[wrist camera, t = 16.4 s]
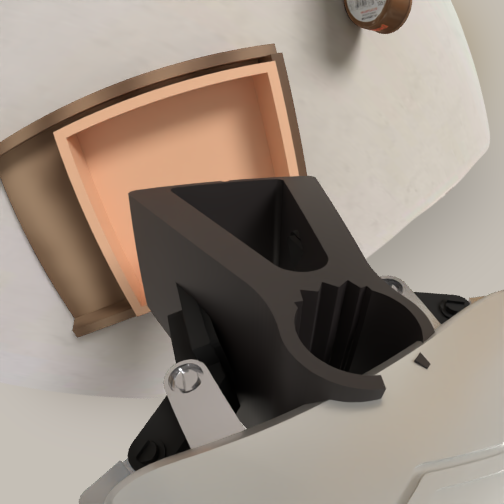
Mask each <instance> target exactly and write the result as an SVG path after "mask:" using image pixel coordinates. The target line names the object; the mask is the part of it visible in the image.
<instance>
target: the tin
mask: <svg viewBox="0 0 504 504" xmlns="http://www.w3.org/2000/svg"><path fill="white" fill-rule="evenodd" d="M344 4H345V8H346V11H347V14H348V16H349V18H350V19H351V20H352V22H354V23H355V24H356V25H357V26H359V27H361V28H364V29H368V30H372V31H376V32H378V33H381V34H389V33H392V32H395V31H396V30H398V29H399V28H400V27H401V26H402V25H403V24H404V23H405V21H406V20H407V18H408V16H409V13H410V10H411V6H412V0H344Z"/></svg>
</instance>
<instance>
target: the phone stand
mask: <svg viewBox="0 0 504 504" xmlns="http://www.w3.org/2000/svg"><path fill="white" fill-rule="evenodd" d="M128 196H129V204H130V212H131V219H132V226H133V232H134V239H135V245H136V251H137V257H138V262H139V268H140V273H141V278H142V283H143V288H144V293H145V298H146V303H147V306H148V308H149V309H150V310H151V312H152V313H153V315H154V316H155V317H156V319H157V320H158V321H159V323H160V324H161V326H162V327H163V328H164V330H165V331H166V332H167V334H168V335H169V336H170V338H171V334H170V329H169V323H168V317H167V316H168V315H170V314H172V313H175V312H178V311H180V310H182V307H181V303H180V299H179V294H178V290H177V285H176V283H177V284H178V285H179V286H181V287H182V288H183V289H184V290H185V291H186V292H187V293H188V294H189V295H191V296H192V297H193V298H194V299H195V300H196V301H197V303H198V305H199V307H201V308H202V309H203V310H204V311H205V312H206V313H207V314H208V315H209V316H210V319H211V321H212V324H213V326H214V328H215V331H216V333H217V336H218V338H219V340H220V343H221V345H222V348H223V350H224V352H225V355H226V357H227V359H228V362H229V364H230V366H231V369H232V371H233V373H234V389H235V392H236V394H237V398H238V400H239V403H240V405H241V406H240V408H239V410H238V412H237V413H236V416H237V417H238V419H239V421H240V422H241V423H242V424H243V425H244V426H245V427H246V428H247V429H248V428H251V427H254V426H256V425H259V424H261V423H264V422H266V421H268V420H271V419H273V418H275V417H278V416H280V415H282V414H285V413H287V412H289V411H291V410H294V409H296V408H298V407H300V406H302V405H304V404H310V403H316V402H321V401H326V400H334V401H341V402H367V401H373V400H378V399H381V398H382V396H383V394H384V392H385V390H386V387H385V384H384V381H383V379H382V376H381V375H363V374H364V373H366V372H368V371H370V370H371V369H373V368H375V367H376V366H378V365H380V364H382V363H383V362H385V361H387V360H388V359H390V358H391V357H393V356H395V355H396V354H398V353H400V352H401V351H403V350H404V349H406V348H407V347H409V346H411V345H412V344H414V343H415V342H417V341H421V342H422V343H424V342H425V341H426V340H427V339H428V338H429V337H431V336H432V335H433V334H434V333H435V331H434V328H433V326H432V324H431V322H430V320H429V319H428V317H427V316H426V315H425V313H424V312H423V311H422V310H421V309H420V308H419V307H418V306H417V305H416V304H414V303H413V302H412V301H410V300H409V299H407V298H406V297H404V296H403V295H401V294H400V293H399V292H397V291H396V290H394V289H393V288H392V287H391V286H389V285H388V284H387V283H386V282H384V281H383V280H382V279H381V278H380V277H379V276H378V275H377V274H376V273H375V272H374V271H373V269H372V268H371V267H370V265H369V264H368V263H367V261H366V259H365V257H364V256H363V254H362V252H361V250H360V249H359V247H358V245H357V244H356V242H355V240H354V238H353V237H352V235H351V233H350V232H349V230H348V228H347V227H346V225H345V223H344V222H343V220H342V219H341V217H340V215H339V214H338V212H337V210H336V209H335V207H334V206H333V204H332V202H331V201H330V199H329V198H328V196H327V195H326V193H325V191H324V190H323V188H322V187H321V185H320V184H319V182H318V181H317V179H316V178H315V177H312V176H289V177H269V178H253V179H239V180H229V181H226V182H224V181H214V182H203V183H193V184H183V185H174V186H165V187H156V188H148V189H141V190H134V191H131V192H129V193H128ZM295 230H298V232H299V235H300V237H301V241H300V242H301V244H302V247H303V250H304V253H303V255H302V257H301V258H300V260H299V262H298V264H297V265H296V267H295V269H294V271H293V267H292V262H291V256H290V251H289V246H288V240H287V238H288V237H290V236H291V232H293V231H295ZM414 362H415V363H417V364H419V365H421V366H422V367H424V368H426V369H428V367H429V366H430V363H429V361H428V360H427V359H426V358H425V357H424V356H423V355H422V354H421V352H420V353H419V355H418V356H417V358H416V359H415V360H414Z"/></svg>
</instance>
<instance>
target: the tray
mask: <svg viewBox="0 0 504 504" xmlns="http://www.w3.org/2000/svg"><path fill="white" fill-rule="evenodd" d="M271 61H275V62H276V67H277V71H278V75H279V79H280V84H281V88H282V93H283V97H284V102H285V107H286V111H287V116H288V121H289V126H290V131H291V136H292V141H293V146H294V151H295V156H296V162H297V167H298V173H299V176H307V172H306V166H305V161H304V155H303V149H302V144H301V139H300V133H299V128H298V123H297V118H296V113H295V108H294V103H293V99H292V94H291V89H290V85H289V80H288V76H287V71H286V67H285V63H284V58H283V54H282V53H277V52H276V48H275V44H267V45H261V46H254V47H248V48H242V49H237V50H232V51H227V52H222V53H217V54H213V55H208V56H204V57H200V58H196V59H192V60H188V61H184V62H181V63H177V64H174V65H170V66H167V67H163V68H160V69H157V70H154V71H151V72H148V73H145V74H142V75H139V76H136V77H133V78H130V79H127V80H125V81H122V82H119V83H117V84H114V85H112V86H109V87H107V88H104V89H102V90H99V91H97V92H94V93H92V94H90V95H88V96H85V97H83V98H81V99H79V100H76V101H74V102H72V103H70V104H68V105H66V106H64V107H62V108H60V109H58V110H56V111H54V112H52V113H50V114H48V115H46V116H44V117H42V118H40V119H39V120H37V121H35V122H33V123H31V124H30V125H28V126H26V127H24V128H23V129H21V130H19V131H18V132H16V133H14V134H13V135H11V136H9V137H8V138H6V139H5V140H3V141H1V142H0V178H1V180H2V183H3V185H4V188H5V190H6V193H7V195H8V197H9V200H10V202H11V204H12V207H13V209H14V211H15V213H16V216H17V218H18V220H19V222H20V224H21V226H22V228H23V230H24V232H25V234H26V236H27V238H28V240H29V242H30V244H31V246H32V248H33V250H34V252H35V254H36V256H37V257H38V259H39V261H40V263H41V265H42V266H43V268H44V270H45V272H46V273H47V275H48V277H49V279H50V280H51V282H52V284H53V285H54V287H55V289H56V290H57V292H58V293H59V295H60V297H61V298H62V300H63V301H64V303H65V304H66V306H67V308H68V309H69V311H70V312H71V314H72V315H73V317H74V318H75V320H74V325H73V330H72V331H73V332H74V333H75V335H76V336H77V338H78V337H80V336H83V335H86V334H89V333H91V332H94V331H97V330H100V329H102V328H105V327H108V326H111V325H113V324H116V323H119V322H121V321H124V320H127V319H129V318H132V317H135V316H136V314H135V312H134V310H133V309H132V307H131V305H130V304H129V302H128V300H127V298H126V296H125V295H124V293H123V291H122V289H121V287H120V286H119V284H118V282H117V280H116V278H115V276H114V274H113V272H112V270H111V269H110V267H109V265H108V263H107V261H106V259H105V257H104V255H103V253H102V251H101V249H100V247H99V245H98V243H97V240H96V238H95V236H94V234H93V232H92V230H91V228H90V225H89V223H88V221H87V219H86V217H85V214H84V212H83V210H82V208H81V205H80V203H79V201H78V198H77V196H76V193H75V191H74V188H73V186H72V184H71V181H70V178H69V176H68V173H67V171H66V168H65V165H64V163H63V160H62V157H61V155H60V152H59V149H58V146H57V143H56V140H55V137H54V134H53V132H55V131H57V130H59V129H61V128H63V127H65V126H67V125H69V124H71V123H73V122H75V121H77V120H80V119H82V118H84V117H86V116H88V115H91V114H93V113H95V112H98V111H100V110H102V109H105V108H107V107H110V106H112V105H115V104H117V103H120V102H122V101H125V100H128V99H130V98H133V97H136V96H139V95H141V94H144V93H147V92H150V91H153V90H156V89H159V88H162V87H165V86H169V85H172V84H175V83H179V82H182V81H185V80H189V79H193V78H196V77H200V76H204V75H208V74H212V73H216V72H220V71H224V70H229V69H234V68H238V67H243V66H248V65H253V64H259V63H265V62H271Z"/></svg>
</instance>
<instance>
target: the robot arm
mask: <svg viewBox="0 0 504 504" xmlns="http://www.w3.org/2000/svg"><path fill="white" fill-rule="evenodd" d="M287 240H288V246H289V251H290V256H291V262H292V267H293V271H294V269H295V267H296V265H297V264H298V262H299V260H300V258H301V257H302V255H303V253H304V250H303V247H302V244H301V242H300V241H301V237H300V235H299V232H298V230H295V231H293V232H291V236H290V237H288V238H287ZM380 278H381V279H382V280H383V281H384V282H386V283H387V284H388V285H389V286H391V287H392V288H393V289H394V290H396V291H397V292H399V293H400V294H401V295H403V296H404V297H406V298H407V299H409V300H410V301H412V302H413V303H414V304H416V305H417V306H418V307H419V308H420V309H421V310H422V311H423V312H424V313H425V315H426V316H427V317H428V319H429V320H430V322H431V324H432V326H433V328H434V331H435V333H434V334H433V335H432V336H431V337H429V338H428V339H427V340H426V341H425V342H424V343H422V342H421V341H417V342H415V343H414V344H412V345H411V346H409V347H407V348H406V349H404V350H403V351H401V352H400V353H398V354H396V355H395V356H393V357H391V358H390V359H388V360H387V361H385V362H383V363H382V364H380V365H378V366H376V367H375V368H373V369H371V370H370V371H368V372H366V373H364V374H363V375H381V376H382V379H383V381H384V384H385V387H386V390H385V392H384V394H383V396H382V398H381V399H378V400H373V401H367V402H341V401H334V400H326V401H321V402H316V403H310V404H304V405H302V406H300V407H298V408H296V409H294V410H291V411H289V412H287V413H285V414H282V415H280V416H278V417H275V418H273V419H271V420H268V421H266V422H264V423H261V424H259V425H256V426H254V427H251V428H248V429H246V430H245V428H244V427H243V425H242V424H241V422H240V421H239V419H238V417H237V416H236V413H237V412H238V410H239V408H240V406H241V405H240V403H239V400H238V398H237V394H236V392H235V389H234V373H233V371H232V369H231V366H230V364H229V362H228V359H227V357H226V355H225V352H224V350H223V348H222V345H221V343H220V340H219V338H218V336H217V333H216V331H215V328H214V326H213V324H212V321H211V319H210V316H209V315H208V314H207V313H206V312H205V311H204V310H203V309H202V308H201V307H199V305H198V303H197V301H196V300H195V299H194V298H193V297H192V296H191V295H189V294H188V293H187V292H186V291H185V290H184V289H183V288H182V287H181V286H179V285H178V284H177V283H176V285H177V290H178V294H179V299H180V303H181V307H182V310H180V311H178V312H175V313H172V314H170V315H168V316H167V317H168V323H169V329H170V334H171V340H172V345H173V350H174V355H175V360H176V364H175V365H173V366H172V367H171V368H170V369H169V370H168V371H167V373H166V375H165V377H164V382H163V384H164V389H165V391H166V394H167V396H166V397H165V399H164V400H163V401H162V403H161V404H160V406H159V407H158V408H157V410H156V411H155V413H154V414H153V415H152V417H151V418H150V419H149V421H148V422H147V423H146V425H145V426H144V428H143V429H142V430H141V432H140V433H139V434H138V436H137V437H136V439H135V440H134V441H133V443H132V444H131V446H130V448H129V452H128V458H127V459H126V460H125V461H124V462H122V461H119V462H118V463H117V464H116V465H114V466H113V467H112V468H111V469H110V470H109V471H107V472H106V473H105V474H104V475H103V476H102V477H100V478H99V479H98V480H97V481H96V482H95V483H93V484H92V485H91V486H90V487H89V488H87V489H86V490H85V491H84V492H83V493H82V495H81V496H80V499H79V504H504V290H501V291H498V292H494V293H491V294H489V295H487V296H482V297H473V298H469V301H467V300H466V299H465V298H463V297H460V296H457V295H447V294H433V293H419V292H413V291H412V290H411V289H410V288H409V287H408V286H407V285H406V283H405V282H404V281H402V280H401V279H399V278H397V277H393V276H381V277H380ZM420 352H421V354H422V355H423V356H424V357H425V358H426V359H427V360H428V361H429V363H430V366H429V367H428V369H426V368H424V367H422V366H421V365H419V364H417V363H415V362H414V360H415V359H416V358H417V356H418V355H419V353H420Z"/></svg>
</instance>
